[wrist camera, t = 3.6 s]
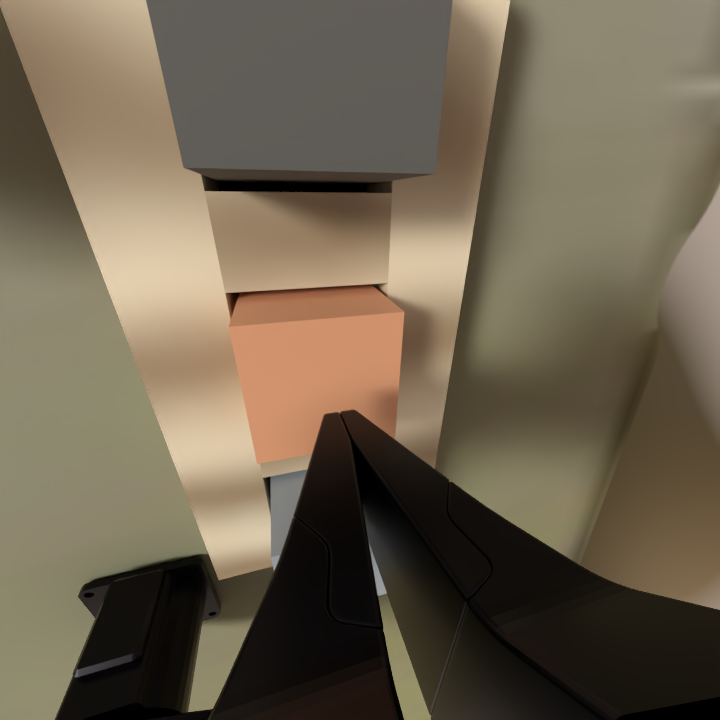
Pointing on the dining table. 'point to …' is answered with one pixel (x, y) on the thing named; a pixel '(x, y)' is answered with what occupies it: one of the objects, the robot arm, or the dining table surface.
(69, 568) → the dining table surface
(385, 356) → the orange cube
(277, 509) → the blue-grey cube
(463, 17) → the birch panel
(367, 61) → the dark grey cube
